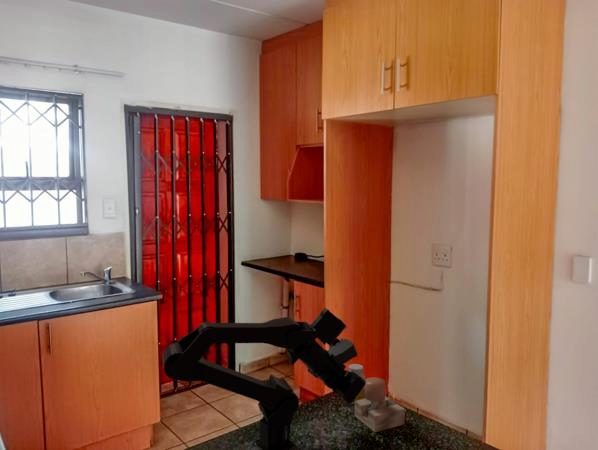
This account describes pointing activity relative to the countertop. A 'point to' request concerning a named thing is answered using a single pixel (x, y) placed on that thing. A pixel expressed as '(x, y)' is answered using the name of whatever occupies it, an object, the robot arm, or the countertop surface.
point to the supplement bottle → (359, 371)
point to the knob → (375, 392)
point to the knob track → (380, 414)
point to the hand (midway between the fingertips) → (354, 394)
